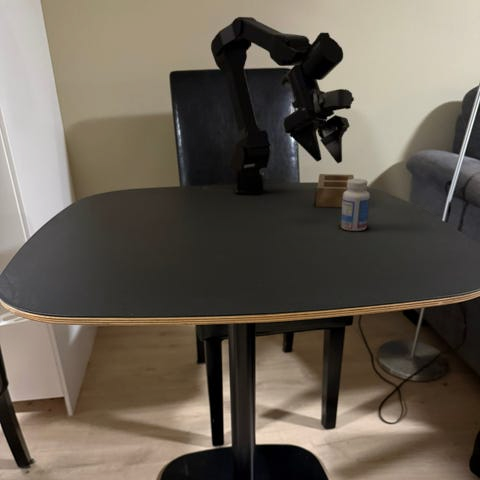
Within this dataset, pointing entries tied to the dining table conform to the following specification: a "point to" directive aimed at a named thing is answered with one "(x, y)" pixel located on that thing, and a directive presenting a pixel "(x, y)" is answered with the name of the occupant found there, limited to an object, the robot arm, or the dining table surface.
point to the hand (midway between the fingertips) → (329, 161)
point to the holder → (331, 189)
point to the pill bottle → (355, 205)
